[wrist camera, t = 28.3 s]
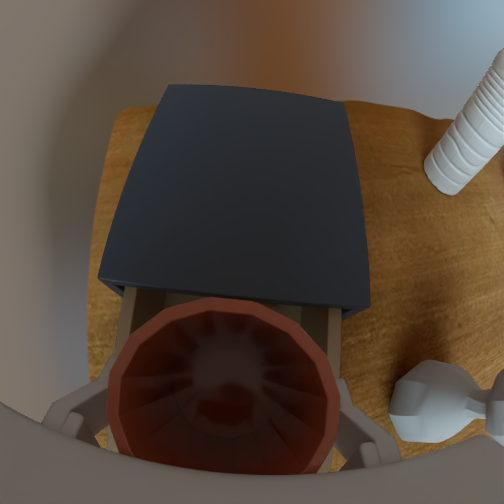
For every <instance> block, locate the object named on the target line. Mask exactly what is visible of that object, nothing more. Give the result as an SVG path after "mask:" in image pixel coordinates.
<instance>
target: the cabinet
mask: <svg viewBox="0 0 504 504" xmlns="http://www.w3.org/2000/svg"><path fill="white" fill-rule="evenodd" d="M98 279H99V280H100V281H101V282H103V283H104V284H105V285H106V286H108V287H109V288H110V289H112V290H113V291H114V292H116V293H117V294H118V295H120V296H121V297H122V298H123V295H124V290H125V286H127V287H133V288H140V289H147V290H154V291H162V292H169V293H177V294H185V295H193V296H201V297H217V298H227V299H236V300H247V301H254V302H259V303H270V304H282V305H294V306H308V307H323V308H341V309H342V317H341V321H342V320H345V319H347V318H349V317H351V316H353V315H355V314H357V313H359V312H361V311H363V310H365V309H367V308H369V307H370V306H371V302H370V279H369V263H368V250H367V239H366V229H365V220H364V211H363V204H362V196H361V189H360V182H359V176H358V170H357V164H356V158H355V153H354V148H353V142H352V137H351V132H350V128H349V123H348V119H347V114H346V110H345V106H344V103H341V102H336V101H332V100H327V99H321V98H317V97H312V96H306V95H300V94H294V93H287V92H281V91H273V90H265V89H256V88H245V87H234V86H233V87H232V86H218V85H168V87H167V89H166V91H165V93H164V95H163V97H162V99H161V101H160V103H159V105H158V107H157V109H156V111H155V113H154V115H153V118H152V120H151V122H150V124H149V126H148V129H147V131H146V133H145V135H144V138H143V140H142V142H141V145H140V147H139V149H138V152H137V154H136V157H135V159H134V162H133V164H132V167H131V170H130V172H129V175H128V178H127V180H126V183H125V186H124V189H123V191H122V194H121V197H120V200H119V203H118V206H117V209H116V212H115V215H114V219H113V222H112V225H111V228H110V232H109V235H108V239H107V242H106V246H105V250H104V253H103V257H102V261H101V265H100V269H99V273H98Z"/></svg>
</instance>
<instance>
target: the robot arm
mask: <svg viewBox="0 0 504 504" xmlns="http://www.w3.org/2000/svg"><path fill="white" fill-rule="evenodd" d="M116 359H117V356H114V355H113V356H111V357H110V358H109V360H108V362H107V364H106V366H105V367H104V369H103V371H102V373H101V375H100V377H99V378H98V380H97V381H92V382H91V383H89V384H87V385H85V386H83V387H81V388H80V389H78V390H76V391H74V392H72V393H70V394H69V395H67V396H65V397H63V398H61V399H59V400H57V401H55V402H53V403H52V405H51V407H50V409H49V410H48V412H47V414H46V416H45V417H44V419H43V421H42V423H38V422H36V421H34V420H32V419H30V418H28V417H27V416H25V415H23V414H21V413H19V412H17V411H15V410H13V409H12V408H10V407H8V406H6V405H5V404H3V403H1V402H0V504H504V447H503V446H502V445H501V444H499V443H498V442H496V441H494V440H493V439H491V438H490V437H488V436H486V435H477V436H474V437H472V438H469V439H467V440H464V441H462V442H459V443H456V444H454V445H451V446H448V447H445V448H442V449H439V450H436V451H433V452H429V453H426V454H423V455H419V456H416V457H412V458H408V459H404V460H402V457H401V454H400V452H399V449H398V446H397V443H396V440H395V438H394V437H393V436H392V435H391V434H390V433H388V432H387V431H386V430H384V429H383V428H382V427H381V426H379V425H378V424H377V423H376V422H374V421H373V420H372V419H371V418H370V417H368V416H367V415H366V414H365V413H363V412H362V411H361V410H360V409H358V408H357V407H353V404H352V401H351V397H350V394H349V391H348V388H347V385H346V382H345V380H344V379H335V381H336V383H337V386H338V389H339V392H340V397H341V399H340V411H339V422H338V432H337V438H336V441H335V443H334V444H333V445H334V447H335V448H336V449H337V450H338V451H339V452H340V453H341V454H342V456H343V457H344V458H345V459H346V460H347V462H346V463H345V465H344V466H343V467H342V468H341V469H340V470H339V471H338V472H328V473H317V474H301V475H247V474H231V473H220V472H210V471H202V470H195V469H188V468H182V467H176V466H170V465H165V464H160V463H155V462H151V461H147V460H142V459H138V458H134V457H131V456H127V455H123V454H120V453H116V452H113V451H110V450H107V449H103V448H101V447H100V445H99V444H98V442H97V440H96V439H95V437H94V436H95V435H96V434H97V433H99V432H100V431H101V430H102V429H104V428H105V427H106V426H108V425H109V423H108V420H107V416H106V415H107V414H106V405H107V391H108V380H109V373H110V370H111V368H112V366H113V365H114V363H115V361H116Z"/></svg>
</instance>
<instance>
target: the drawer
mask: <svg viewBox="0 0 504 504" xmlns="http://www.w3.org/2000/svg"><path fill="white" fill-rule="evenodd" d="M202 298H206V297H201V296H193V295H185V294H177V293H169V292H162V291H154V290H147V289H140V288H133V287H127V286H125V290H124V295H123V300H122V306H121V311H120V317H119V323H118V329H117V336H116V343H115V350H114V356H117V357H118V355H119V354H120V352H121V350H122V348H123V346H124V345H125V343H126V341H127V339H128V338H129V336H131V334H132V333H133V332H135V331H136V330H137V329H139V328H140V327H141V326H143V325H144V324H145V323H147V322H148V321H149V320H150V319H152V318H153V317H154V316H156V315H157V314H158V313H160V312H161V311H162V310H164V309H166V308H169V307H172V306H176V305H180V304H184V303H187V302H191V301H195V300H198V299H202ZM258 303H259V302H258ZM260 304H262V305H264V306H266V307H268V308H270V309H272V310H274V311H276V312H278V313H280V314H282V315H284V316H286V317H288V318H290V319H292V320H294V321H295V322H296V323H298V324H299V325H300V326H301V327H302V328H303V330H304V331H305V332H306V333H307V334H308V335H309V336H310V337H311V338H312V340H313V341H314V342H315V343H316V344H317V345H318V346H319V347H320V348H321V350H322V351H323V352H324V353H325V354H326V356H327V358H328V360H329V363H330V366H331V369H332V372H333V375H334V378H335V379H340V359H341V317H342V309H341V308H323V307H308V306H294V305H282V304H270V303H260ZM333 446H334V445H333ZM333 446H332V448H331V450H330V452H329V454H328V455H327V457H326V459H325V461H324V462H323V464H322V466H321V467H320V469H319V471H318V472H317V473H328V472H330V469H331V462H332V454H333ZM107 450H110V451H113V452H116V453H119V451H118V448H117V445H116V443H115V440H114V437H113V434H112V432H111V429H110V426H109V425H108V441H107Z"/></svg>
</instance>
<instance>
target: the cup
mask: <svg viewBox="0 0 504 504" xmlns="http://www.w3.org/2000/svg"><path fill="white" fill-rule="evenodd" d="M340 399H341V397H340V392H339V389H338V386H337V383H336V381H335V378H334V375H333V372H332V369H331V366H330V363H329V360H328V358H327V356H326V354H325V353H324V352H323V351H322V350H321V348H320V347H319V346H318V345H317V344H316V343H315V342H314V341H313V340H312V338H311V337H310V336H309V335H308V334H307V333H306V332H305V331H304V330H303V328H302V327H301V326H300V325H299V324H298V323H296V322H295V321H294V320H292V319H290V318H288V317H286V316H284V315H282V314H280V313H278V312H276V311H274V310H272V309H270V308H268V307H266V306H264V305H262V304H260V303H258V302H254V301H247V300H236V299H227V298H217V297H206V298H202V299H198V300H195V301H191V302H187V303H184V304H180V305H176V306H172V307H169V308H166V309H164V310H162V311H161V312H160V313H158V314H157V315H156V316H154V317H153V318H152V319H150V320H149V321H148V322H147V323H145V324H144V325H143V326H141V327H140V328H139V329H137V330H136V331H135V332H133V333H132V334H131V336H129V338H128V339H127V341H126V343H125V345H124V346H123V348H122V350H121V352H120V354H119V355H118V357H117V359H116V361H115V363H114V365H113V366H112V368H111V370H110V373H109V380H108V391H107V405H106V414H107V415H106V416H107V420H108V423H109V426H110V429H111V432H112V434H113V437H114V440H115V443H116V445H117V448H118V451H119V453H120V454H123V455H127V456H131V457H134V458H138V459H142V460H147V461H151V462H155V463H160V464H165V465H170V466H176V467H182V468H188V469H195V470H202V471H210V472H220V473H231V474H247V475H301V474H317V472H318V471H319V469H320V467H321V466H322V464H323V462H324V461H325V459H326V457H327V455H328V454H329V452H330V450H331V448H332V446H333V444H334V443H335V441H336V438H337V432H338V422H339V411H340Z"/></svg>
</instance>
